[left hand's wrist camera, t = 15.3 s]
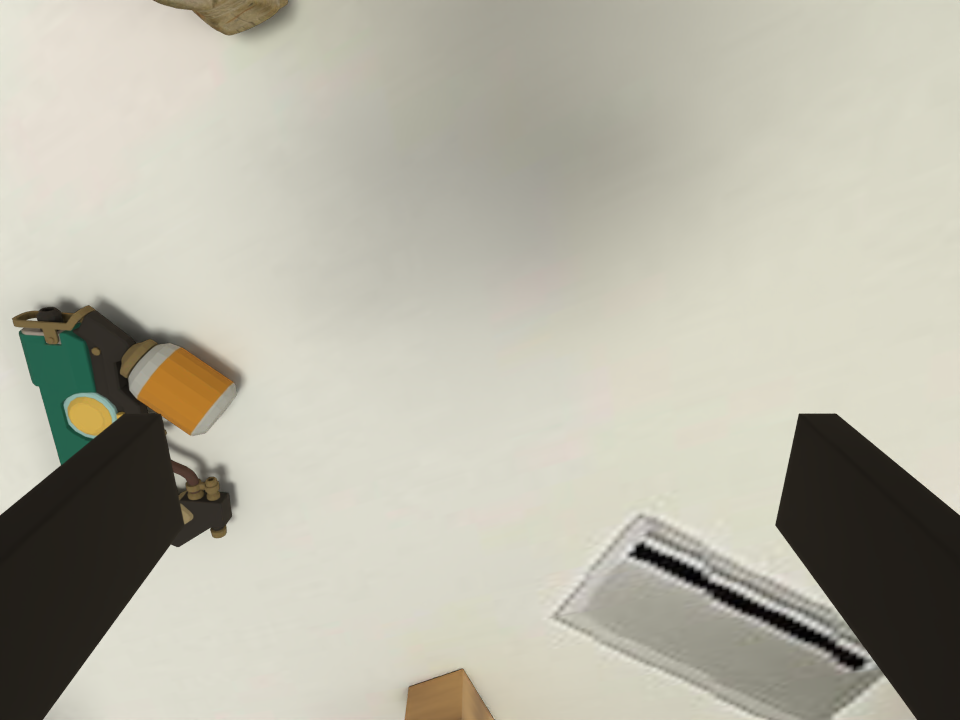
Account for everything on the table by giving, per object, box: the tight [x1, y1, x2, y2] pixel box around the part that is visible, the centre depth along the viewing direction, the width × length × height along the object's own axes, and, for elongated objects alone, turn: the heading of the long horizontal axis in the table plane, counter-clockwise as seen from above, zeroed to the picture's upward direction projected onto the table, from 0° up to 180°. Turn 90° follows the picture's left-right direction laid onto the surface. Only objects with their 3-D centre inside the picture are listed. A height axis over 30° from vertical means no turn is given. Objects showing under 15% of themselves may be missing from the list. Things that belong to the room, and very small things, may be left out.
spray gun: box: [12, 305, 237, 547], centre depth 41 cm, size 4×17×15 cm
